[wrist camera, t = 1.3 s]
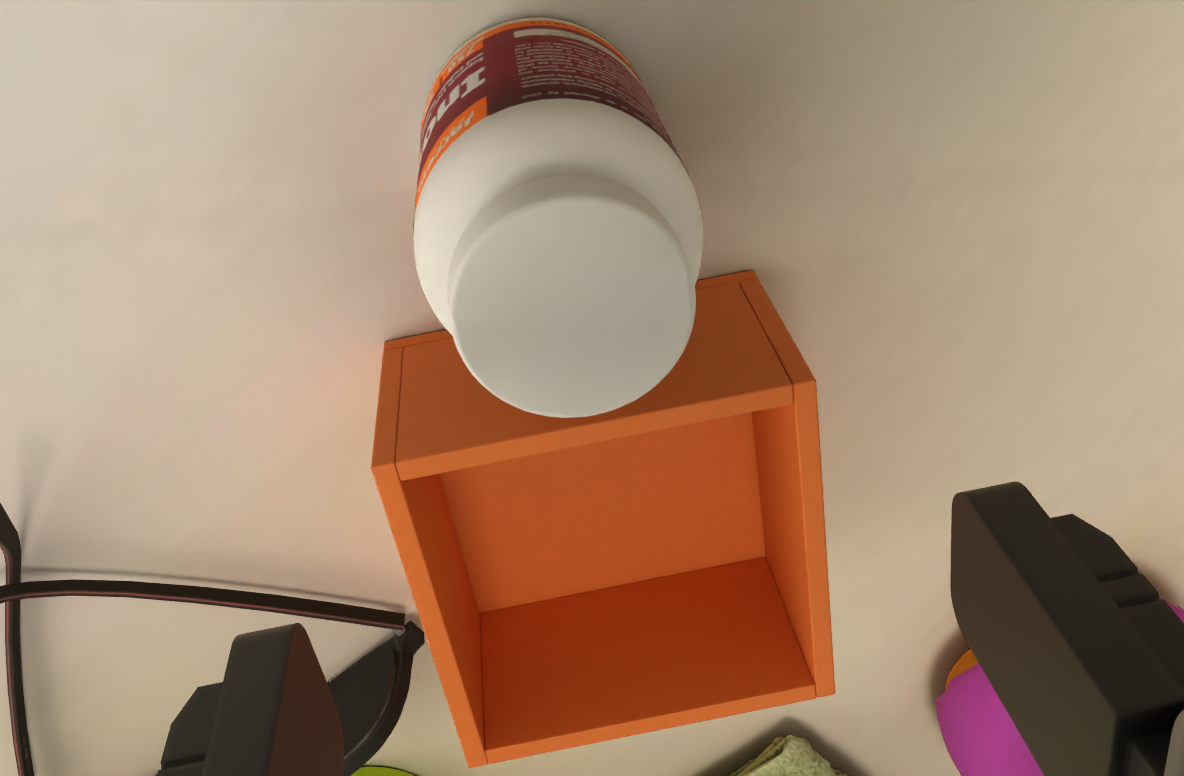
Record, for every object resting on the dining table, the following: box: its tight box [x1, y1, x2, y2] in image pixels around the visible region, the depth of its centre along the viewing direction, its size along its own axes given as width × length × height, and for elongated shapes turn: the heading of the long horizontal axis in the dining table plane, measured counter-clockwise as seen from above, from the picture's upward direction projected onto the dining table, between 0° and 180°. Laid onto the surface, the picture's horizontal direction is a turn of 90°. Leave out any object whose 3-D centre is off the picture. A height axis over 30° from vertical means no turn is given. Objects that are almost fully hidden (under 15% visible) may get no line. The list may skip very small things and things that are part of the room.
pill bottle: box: [413, 18, 703, 418], centre depth 25 cm, size 6×6×11 cm
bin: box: [371, 270, 835, 768], centre depth 33 cm, size 11×11×7 cm
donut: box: [935, 598, 1184, 776], centre depth 41 cm, size 10×10×5 cm
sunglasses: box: [0, 503, 425, 776], centre depth 35 cm, size 17×14×5 cm
